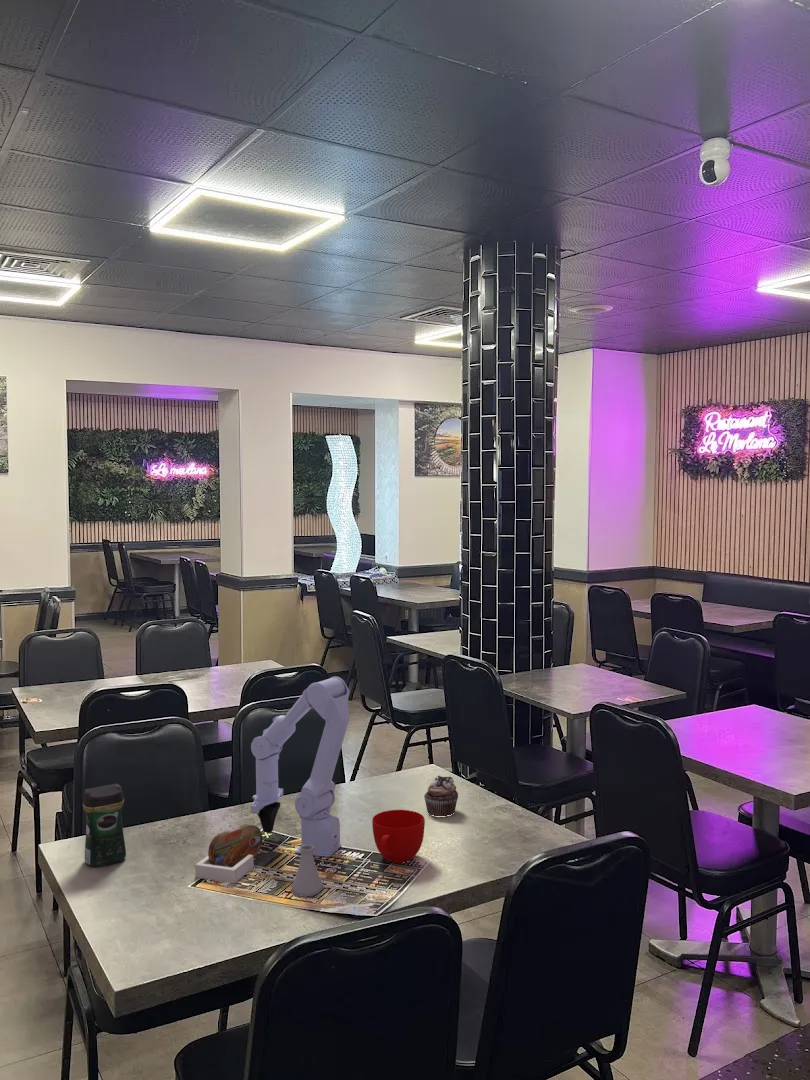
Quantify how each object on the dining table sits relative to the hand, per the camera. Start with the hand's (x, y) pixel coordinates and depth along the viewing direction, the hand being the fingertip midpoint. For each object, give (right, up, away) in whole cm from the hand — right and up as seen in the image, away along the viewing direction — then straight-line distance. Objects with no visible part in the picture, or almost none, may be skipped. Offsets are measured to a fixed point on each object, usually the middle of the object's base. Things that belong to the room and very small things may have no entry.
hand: (267, 831), depth 226 cm
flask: (+14, -3, -31) cm, 34 cm away
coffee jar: (-38, -3, -13) cm, 41 cm away
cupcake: (+46, -1, +18) cm, 50 cm away
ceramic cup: (+34, -2, -15) cm, 37 cm away
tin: (-6, -3, -15) cm, 16 cm away
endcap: (-7, -3, -20) cm, 21 cm away
